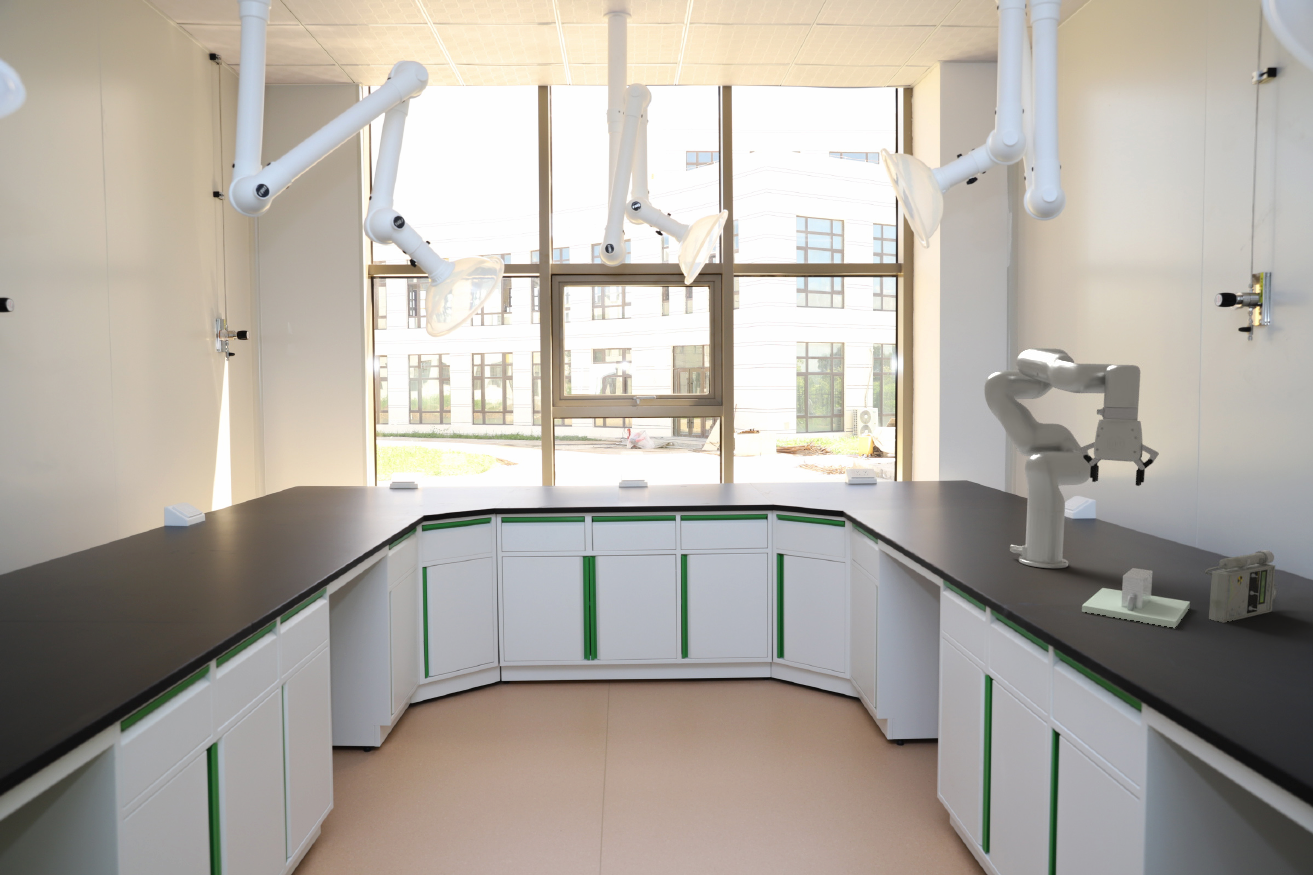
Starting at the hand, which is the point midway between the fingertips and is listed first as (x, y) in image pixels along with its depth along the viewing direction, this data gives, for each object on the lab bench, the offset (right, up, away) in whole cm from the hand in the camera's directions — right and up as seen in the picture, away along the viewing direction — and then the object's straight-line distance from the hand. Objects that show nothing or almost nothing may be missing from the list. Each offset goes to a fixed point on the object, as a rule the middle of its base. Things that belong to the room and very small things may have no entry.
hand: (1116, 483), depth 206 cm
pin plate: (-6, -28, -18) cm, 34 cm away
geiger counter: (+18, -28, -20) cm, 39 cm away
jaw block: (-6, -26, -18) cm, 32 cm away
